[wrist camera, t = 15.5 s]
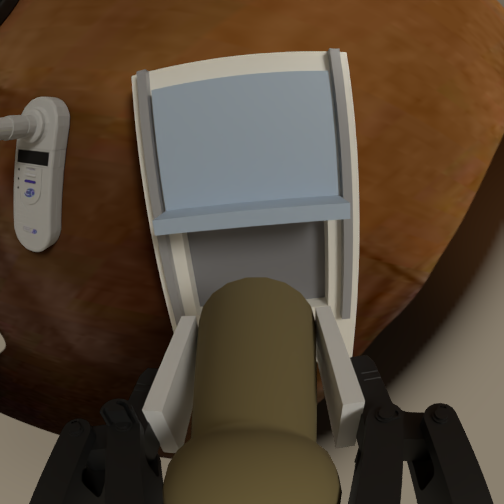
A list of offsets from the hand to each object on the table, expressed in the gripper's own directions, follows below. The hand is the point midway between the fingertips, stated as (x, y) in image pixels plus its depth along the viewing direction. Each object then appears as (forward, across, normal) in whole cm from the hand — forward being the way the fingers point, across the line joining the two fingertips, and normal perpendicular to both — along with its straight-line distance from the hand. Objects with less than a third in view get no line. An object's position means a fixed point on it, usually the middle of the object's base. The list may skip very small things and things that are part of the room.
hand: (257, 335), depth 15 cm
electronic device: (+12, -20, +10) cm, 25 cm away
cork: (0, 0, 0) cm, 1 cm away
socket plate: (+11, 0, +3) cm, 12 cm away
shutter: (+9, 0, +9) cm, 13 cm away
